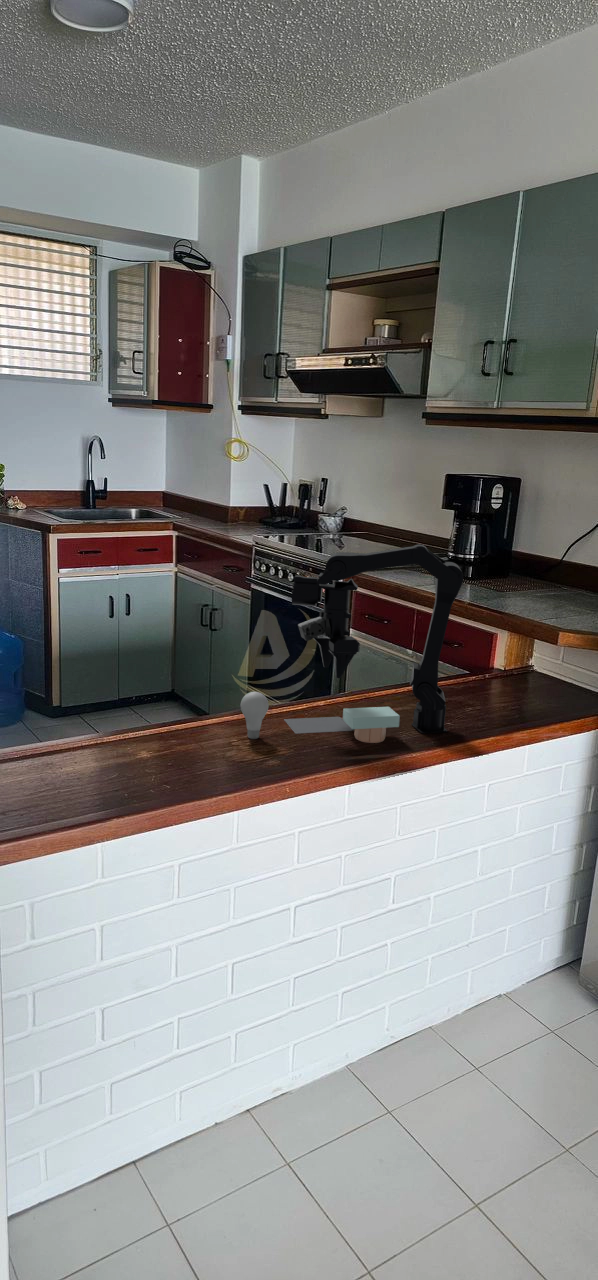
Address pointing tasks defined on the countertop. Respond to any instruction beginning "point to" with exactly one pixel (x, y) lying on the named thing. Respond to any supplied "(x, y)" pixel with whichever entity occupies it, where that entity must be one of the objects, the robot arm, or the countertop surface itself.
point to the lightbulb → (254, 712)
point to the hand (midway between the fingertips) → (332, 672)
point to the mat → (318, 725)
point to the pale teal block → (371, 717)
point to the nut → (370, 735)
